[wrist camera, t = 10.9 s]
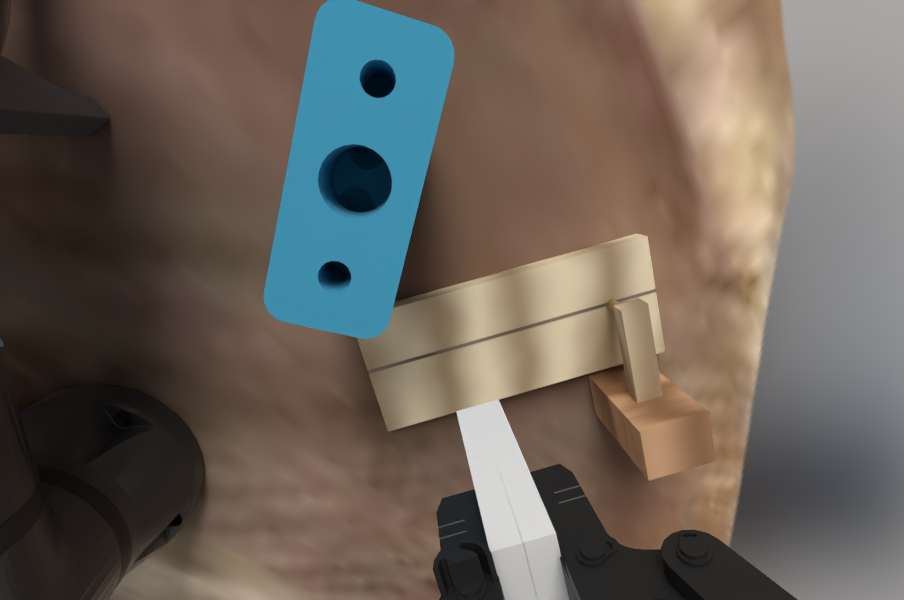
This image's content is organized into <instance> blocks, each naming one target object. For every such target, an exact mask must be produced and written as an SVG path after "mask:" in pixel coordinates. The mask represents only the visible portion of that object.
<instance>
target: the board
mask: <svg viewBox="0 0 904 600" xmlns="http://www.w3.org/2000/svg"><path fill="white" fill-rule="evenodd" d="M637 298H639V299H641V300H643V301H645V302H646V303H648V306H649V312H650V318H651V325H652V331H653V337H654V343H655V350H656V354H658V353H661V352H665V347H664V341H663V334H662V328H661V321H660V315H659V308H658V302H657V296H656V289H655V283H654V276H653V270H652V263H651V257H650V250H649V244H648V237H647V236H644V235H641V234H633V235H630V236H626V237H623V238H619V239H616V240H612V241H608V242H605V243H601V244H598V245H594V246H591V247H587V248H584V249H580V250H577V251H573V252H569V253H566V254H562V255H559V256H555V257H552V258H548V259H545V260H541V261H538V262H534V263H530V264H527V265H523V266H520V267H516V268H513V269H509V270H506V271H502V272H499V273H495V274H491V275H488V276H484V277H481V278H477V279H474V280H470V281H467V282H463V283H460V284H456V285H452V286H449V287H445V288H442V289H438V290H435V291H431V292H428V293H424V294H421V295H417V296H414V297H410V298H406V299H403V300H399V301H396V302H394V306H393V310H392V314H391V318H390V321H389V324H388V326H387V328H386V329H385V330H384V332H382V333H381V334H380V335H378V336H376V337H374V338H369V339H363V338H357V337H356V338H357V341H358V344H359V347H360V350H361V353H362V356H363V359H364V361H365V364H366V367H367V370H368V374H369V376H370V379H371V382H372V385H373V388H374V391H375V394H376V397H377V400H378V403H379V406H380V409H381V412H382V415H383V418H384V421H385V424H386V427H387V430H388V432H389V431H393V430H396V429H399V428H403V427H406V426H410V425H413V424H417V423H420V422H424V421H427V420H430V419H434V418H437V417H441V416H444V415H448V414H451V413H455V412H456V411H459V410H463V409H466V408H470V407H474V406H477V405H481V404H484V403H488V402H491V401H495V400H499V399H503V398H506V397H510V396H513V395H517V394H520V393H524V392H527V391H530V390H534V389H537V388H541V387H544V386H548V385H551V384H555V383H558V382H561V381H565V380H568V379H572V378H575V377H579V376H582V375H586V374H589V373H592V372H596V371H599V370H603V369H606V368H610V367H613V366H617V365H620V364H623V359H622V354H621V348H620V343H619V337H618V331H617V326H616V320H615V315H614V311H613V310H611V309H610V308H608V306H607V303H608V301H609V300H611V299H614V300H616V301H618V302H619V303H623V302H627V301H630V300H634V299H637Z"/></svg>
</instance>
